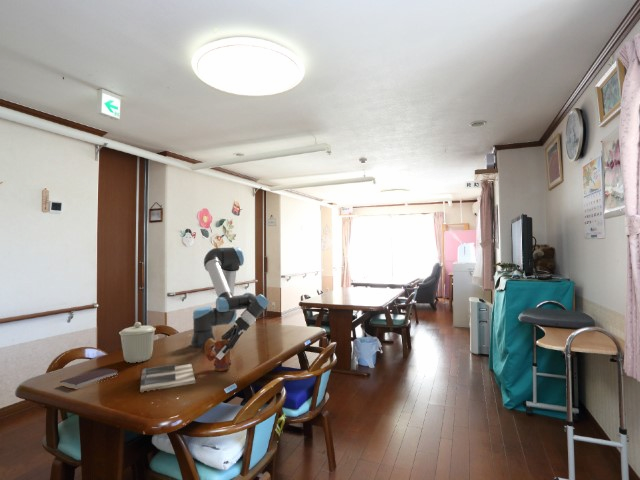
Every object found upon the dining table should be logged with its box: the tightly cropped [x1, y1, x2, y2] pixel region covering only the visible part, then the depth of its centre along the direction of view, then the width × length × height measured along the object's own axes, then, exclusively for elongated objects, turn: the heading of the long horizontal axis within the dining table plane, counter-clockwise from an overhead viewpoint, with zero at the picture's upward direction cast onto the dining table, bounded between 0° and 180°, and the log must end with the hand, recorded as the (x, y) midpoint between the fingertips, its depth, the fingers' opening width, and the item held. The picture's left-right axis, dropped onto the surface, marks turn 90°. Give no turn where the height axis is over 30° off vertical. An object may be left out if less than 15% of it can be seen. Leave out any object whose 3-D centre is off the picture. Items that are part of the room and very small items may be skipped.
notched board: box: [139, 363, 196, 393], centre depth 164 cm, size 26×22×4 cm
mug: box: [203, 338, 232, 372], centre depth 174 cm, size 15×8×15 cm, turn 71°
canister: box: [118, 321, 156, 364], centre depth 193 cm, size 18×18×21 cm
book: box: [59, 367, 119, 387], centre depth 164 cm, size 12×19×3 cm, turn 154°
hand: (215, 354), depth 173 cm, fingers open, 13 cm apart
